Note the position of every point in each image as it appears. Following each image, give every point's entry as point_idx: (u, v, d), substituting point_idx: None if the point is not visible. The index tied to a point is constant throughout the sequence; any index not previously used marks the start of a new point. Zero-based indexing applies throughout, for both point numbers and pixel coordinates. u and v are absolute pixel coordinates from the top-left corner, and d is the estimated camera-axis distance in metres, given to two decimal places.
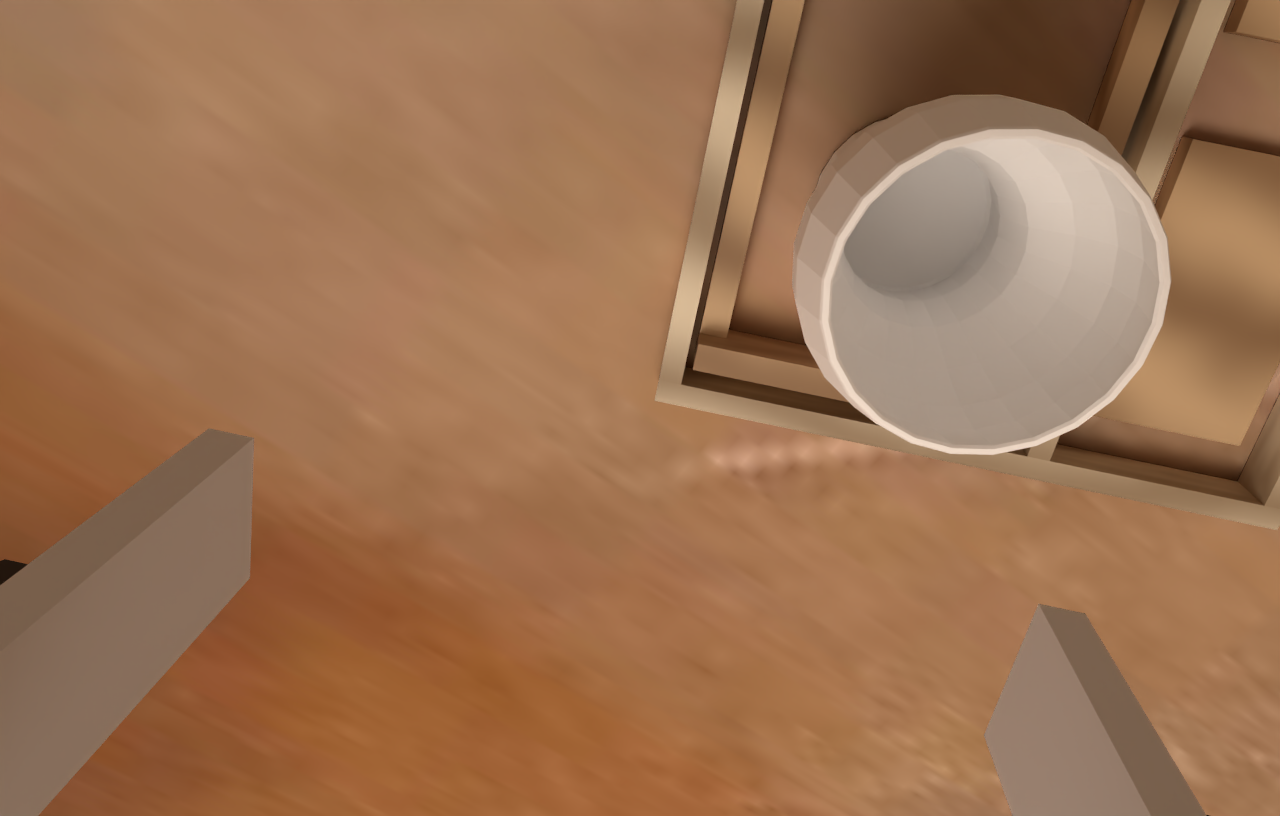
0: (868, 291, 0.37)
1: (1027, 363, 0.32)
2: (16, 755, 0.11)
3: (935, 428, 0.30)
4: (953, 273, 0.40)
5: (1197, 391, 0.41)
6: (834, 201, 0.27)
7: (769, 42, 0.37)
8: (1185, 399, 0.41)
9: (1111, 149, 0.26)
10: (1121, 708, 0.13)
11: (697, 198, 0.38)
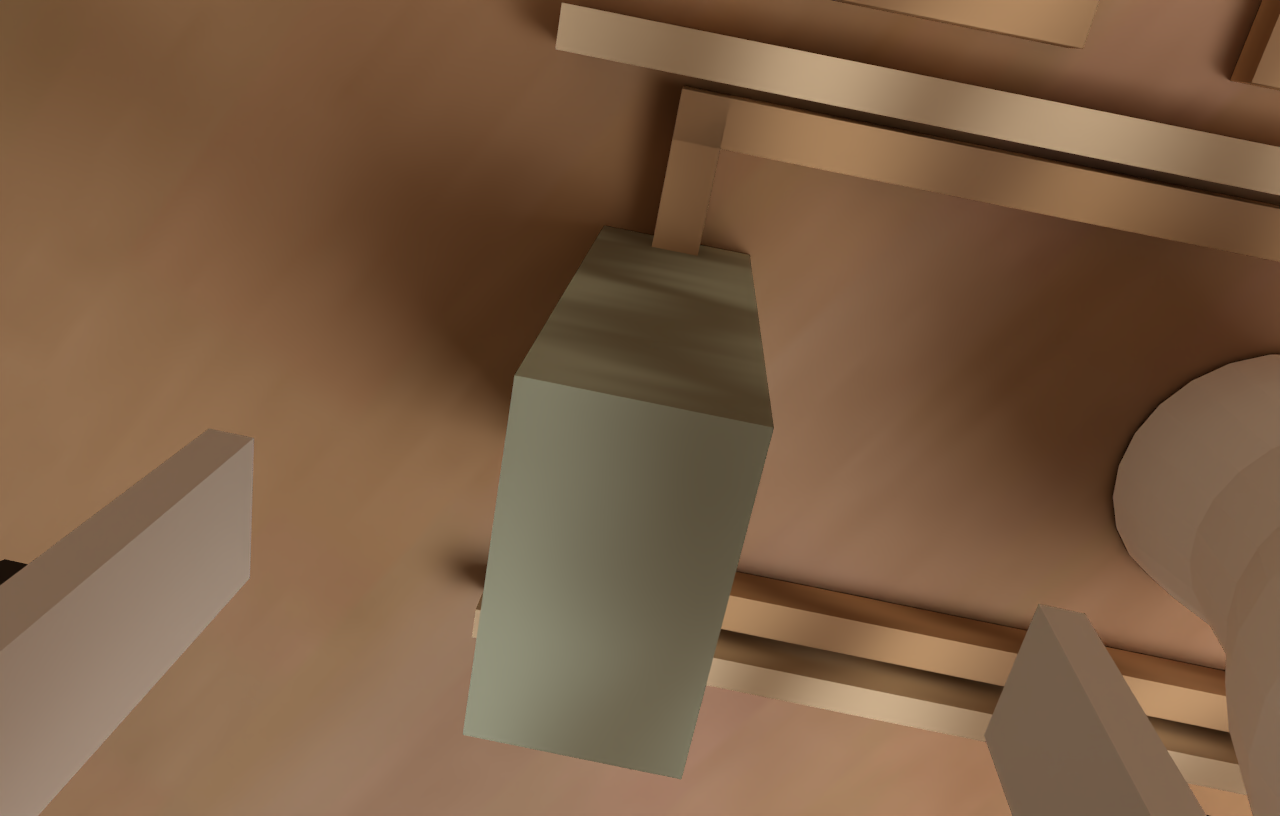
0: None
1: None
2: (16, 755, 0.11)
3: None
4: None
5: None
6: None
7: (997, 678, 0.28)
8: None
9: None
10: (1121, 708, 0.13)
11: (1201, 785, 0.28)
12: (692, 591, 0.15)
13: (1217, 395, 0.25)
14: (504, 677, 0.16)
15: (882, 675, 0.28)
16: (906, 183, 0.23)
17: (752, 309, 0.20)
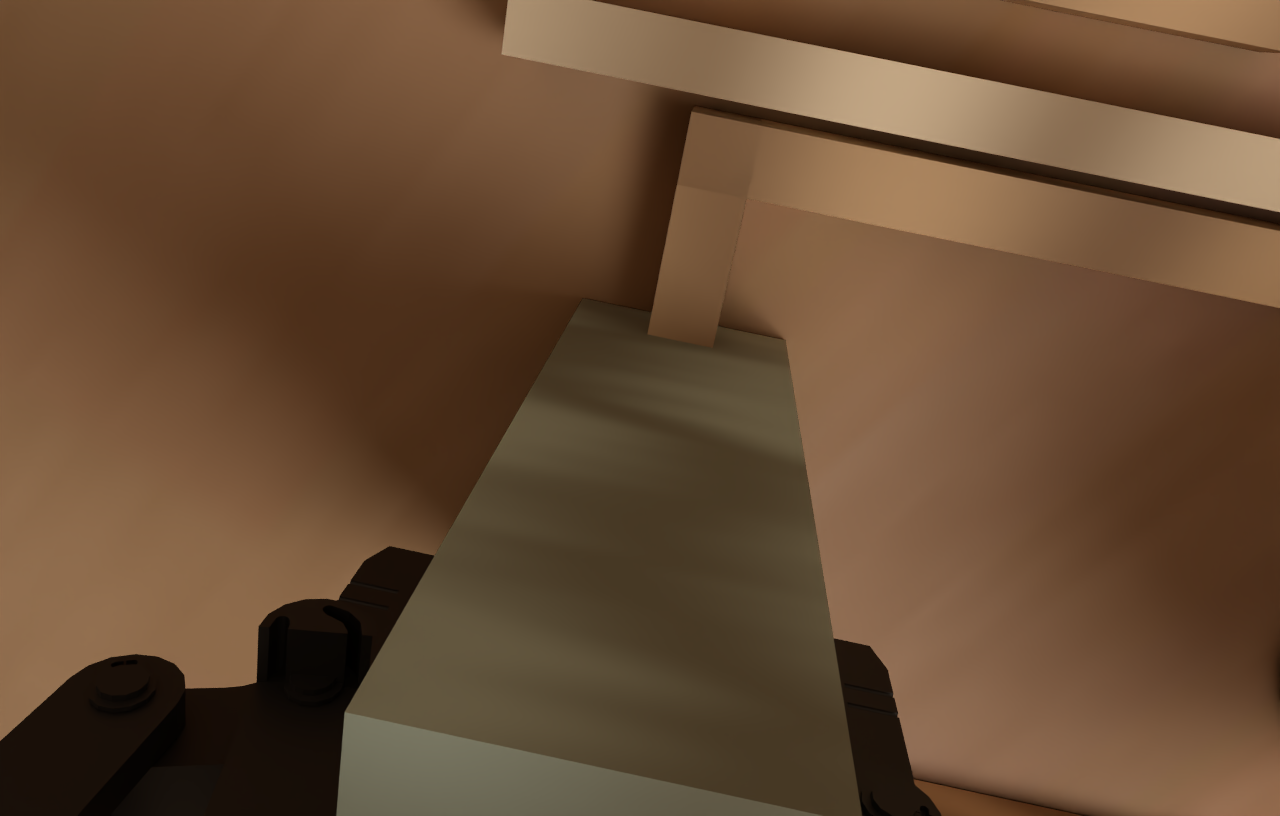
0: None
1: None
2: None
3: None
4: None
5: None
6: None
7: None
8: None
9: None
10: None
11: None
12: None
13: None
14: None
15: None
16: (1018, 249, 0.16)
17: (797, 458, 0.13)
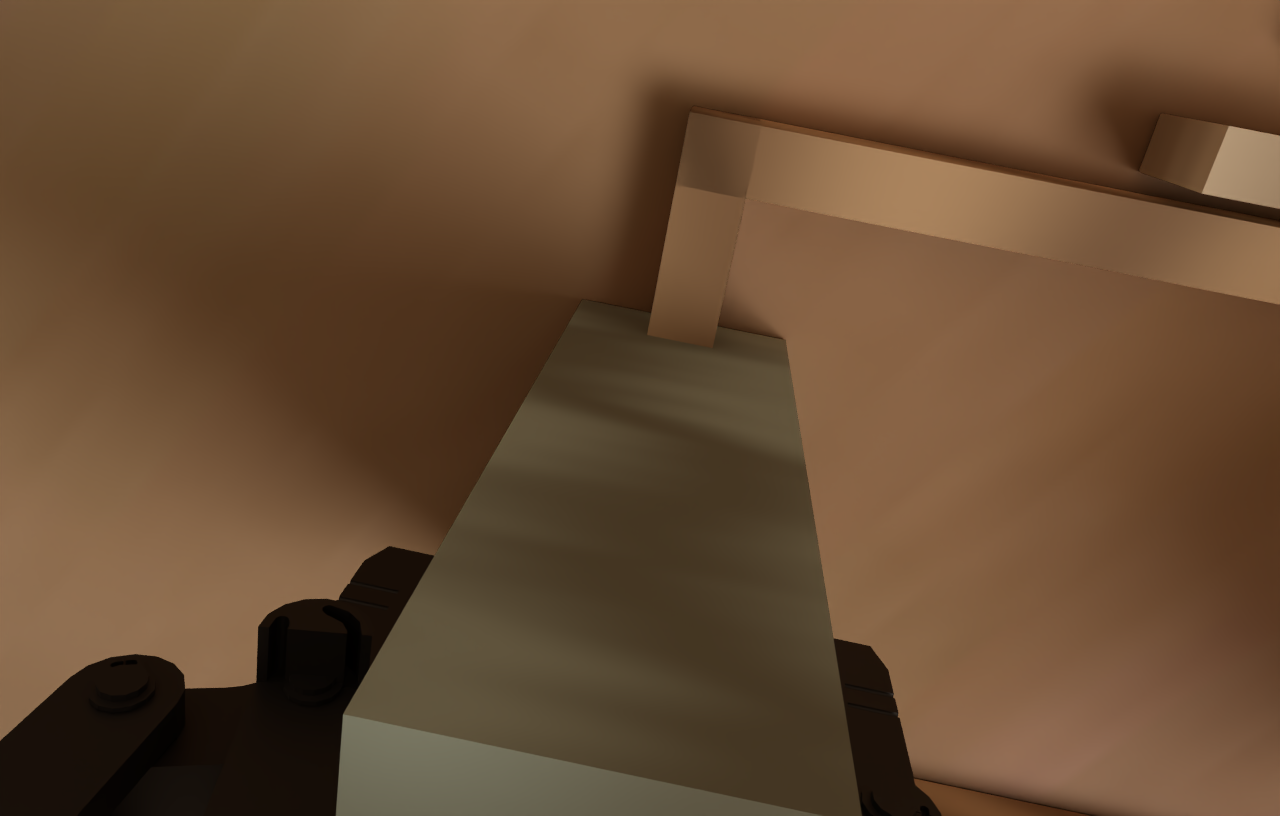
0: None
1: None
2: None
3: None
4: None
5: None
6: None
7: None
8: None
9: None
10: None
11: None
12: None
13: None
14: None
15: None
16: (1017, 248, 0.16)
17: (796, 458, 0.13)
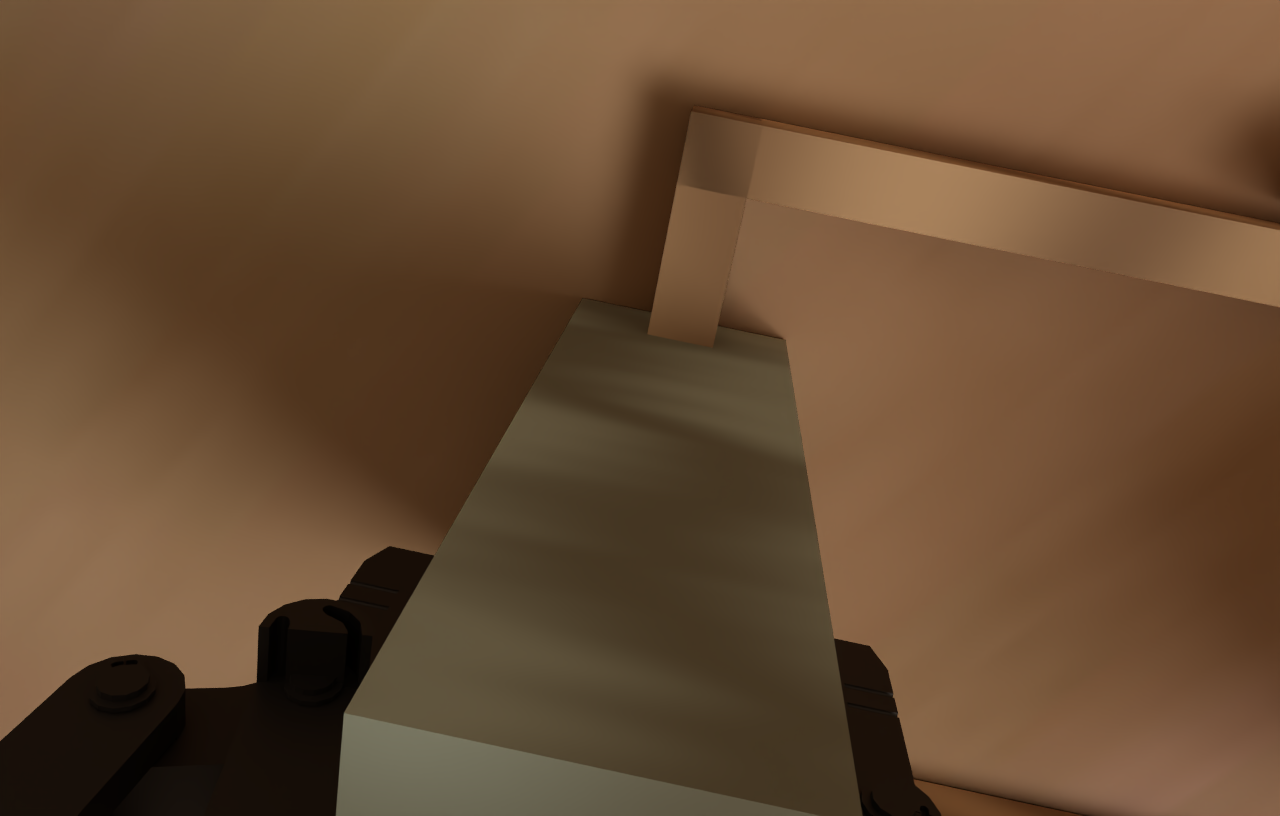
0: None
1: None
2: None
3: None
4: None
5: None
6: None
7: None
8: None
9: None
10: None
11: None
12: None
13: None
14: None
15: None
16: (1018, 249, 0.16)
17: (797, 458, 0.13)
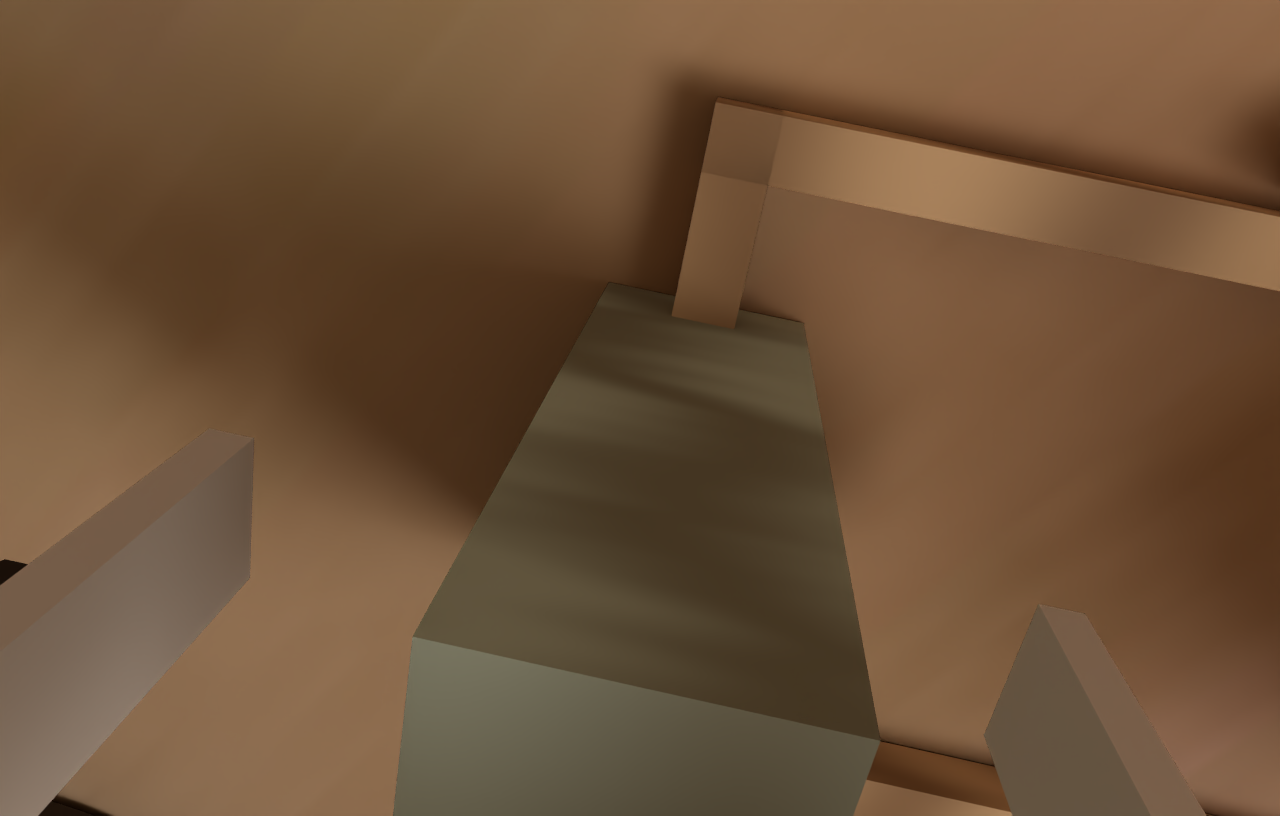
0: None
1: None
2: (16, 755, 0.11)
3: None
4: None
5: None
6: None
7: None
8: None
9: None
10: (1121, 708, 0.13)
11: None
12: None
13: None
14: None
15: None
16: (1028, 235, 0.16)
17: (816, 429, 0.14)
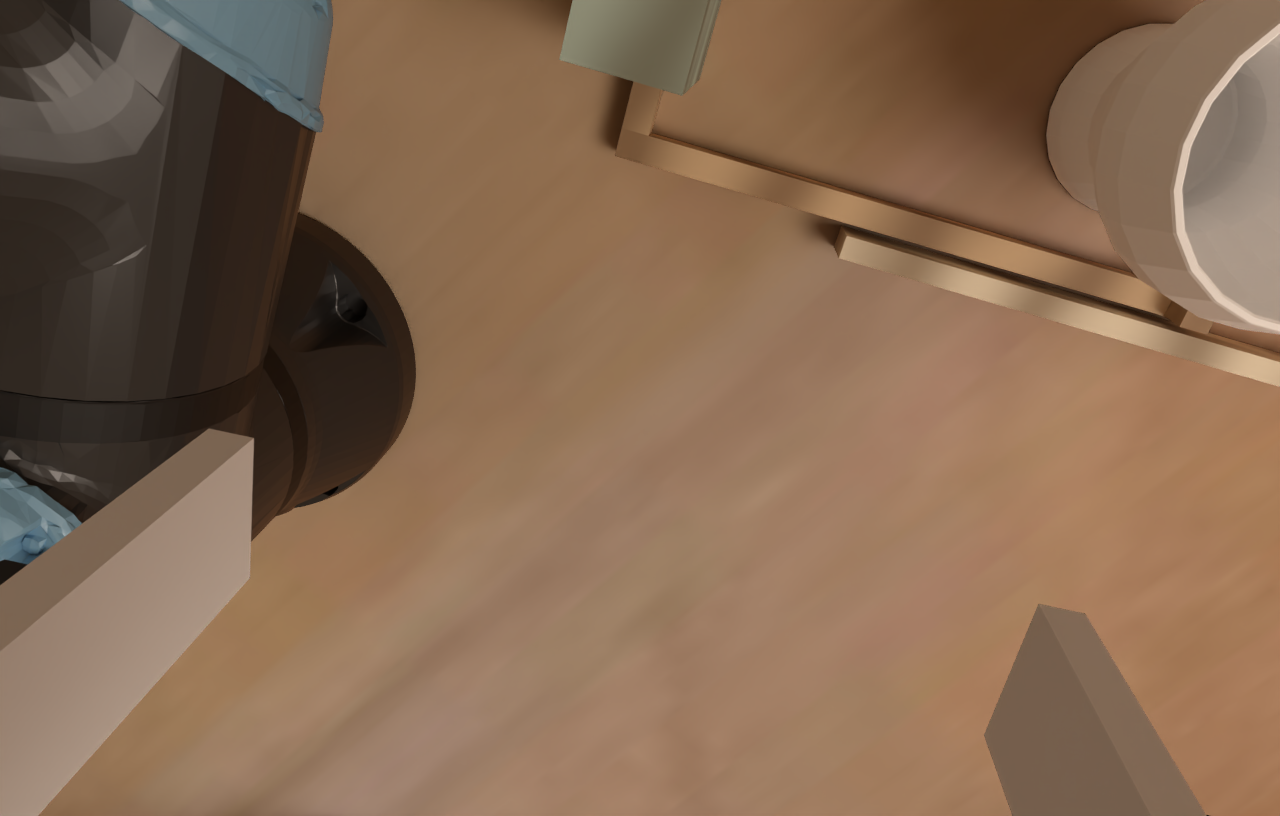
0: (1246, 183, 0.36)
1: None
2: (16, 755, 0.11)
3: None
4: None
5: None
6: (1199, 308, 0.29)
7: (895, 232, 0.41)
8: None
9: (1209, 53, 0.26)
10: (1121, 708, 0.13)
11: None
12: None
13: (1111, 45, 0.37)
14: (587, 17, 0.29)
15: (1114, 311, 0.41)
16: None
17: None
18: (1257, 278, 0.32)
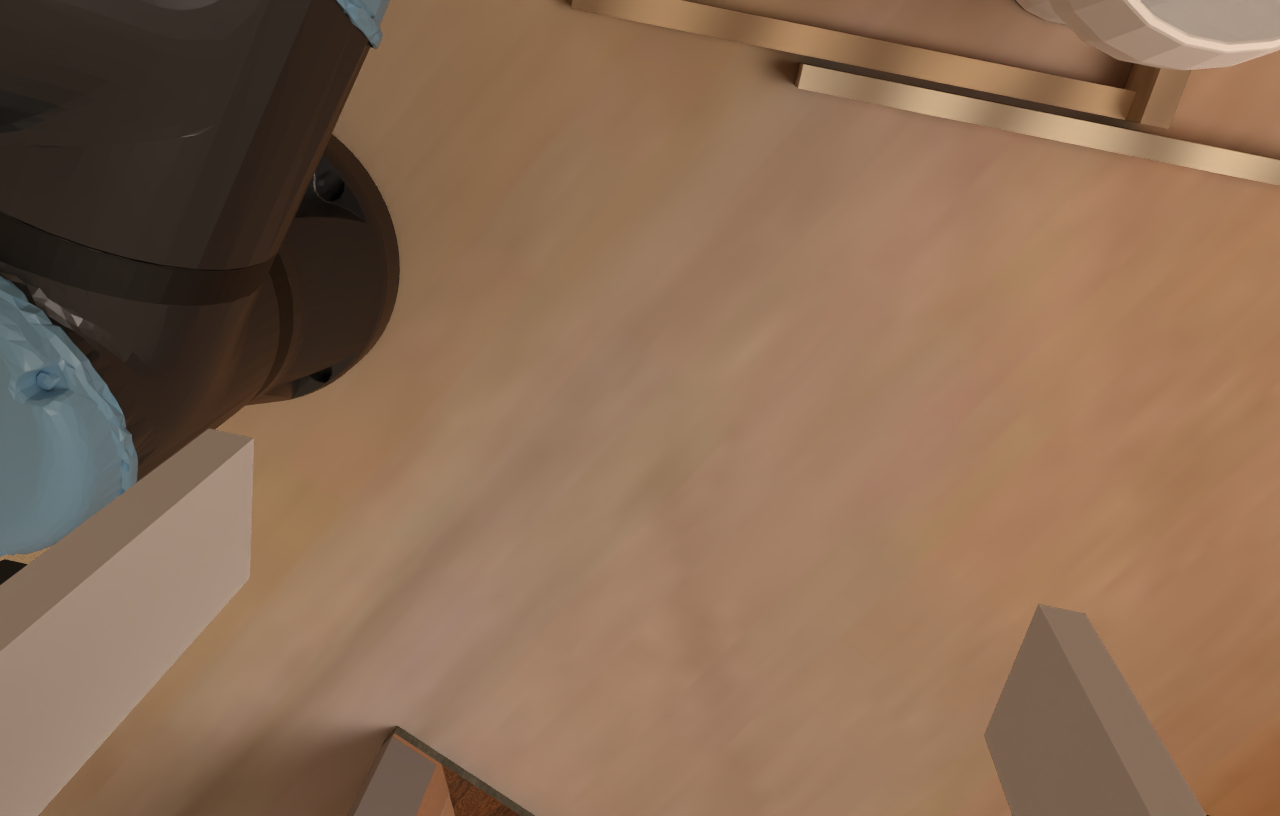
0: None
1: None
2: (16, 755, 0.11)
3: None
4: None
5: None
6: (1138, 44, 0.29)
7: (852, 59, 0.41)
8: None
9: None
10: (1121, 708, 0.13)
11: None
12: None
13: None
14: None
15: None
16: None
17: None
18: (1201, 35, 0.33)
